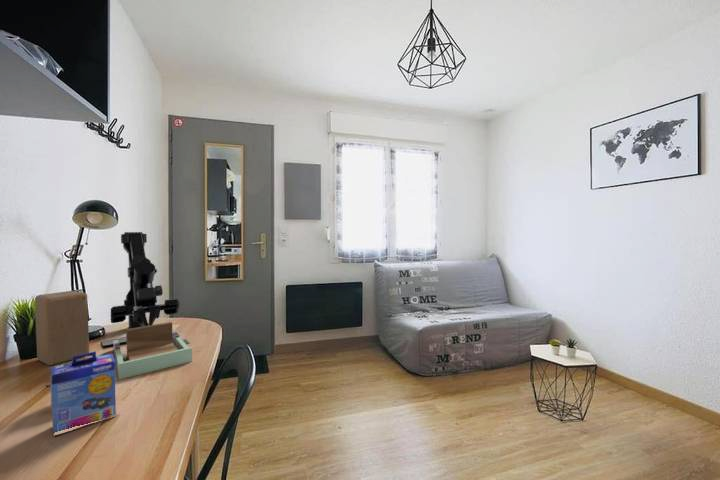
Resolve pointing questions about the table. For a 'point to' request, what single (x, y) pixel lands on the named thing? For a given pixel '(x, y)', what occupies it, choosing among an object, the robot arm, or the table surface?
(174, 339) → the pale green tray
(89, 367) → the ink cartridge box
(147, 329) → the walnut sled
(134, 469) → the table surface
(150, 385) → the table surface
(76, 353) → the wooden block
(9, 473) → the table surface
